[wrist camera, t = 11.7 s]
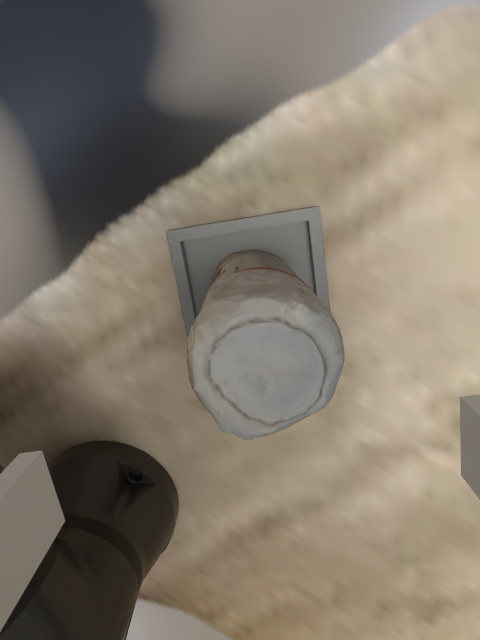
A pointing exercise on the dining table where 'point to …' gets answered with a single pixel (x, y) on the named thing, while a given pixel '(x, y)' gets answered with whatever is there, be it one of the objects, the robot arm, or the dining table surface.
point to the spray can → (262, 347)
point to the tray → (246, 234)
